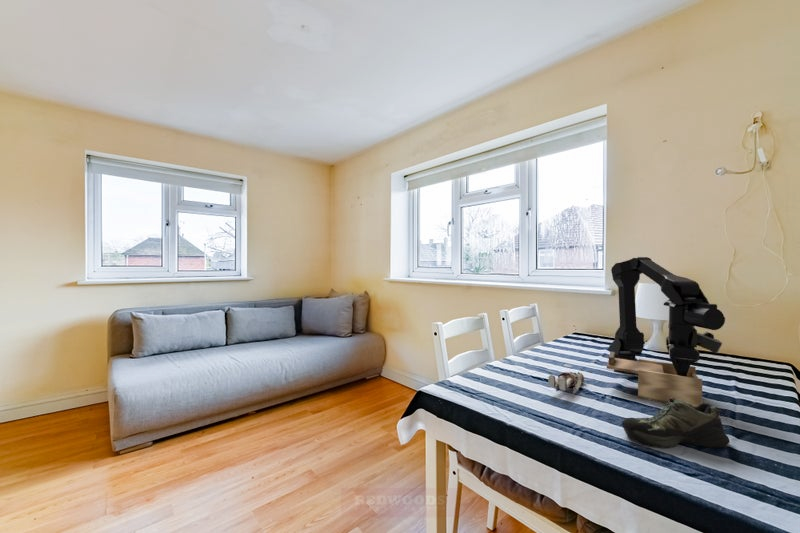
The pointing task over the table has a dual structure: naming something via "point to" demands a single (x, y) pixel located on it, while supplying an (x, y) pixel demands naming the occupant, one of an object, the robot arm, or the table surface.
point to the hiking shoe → (679, 426)
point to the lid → (631, 365)
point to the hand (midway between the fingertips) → (680, 376)
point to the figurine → (566, 381)
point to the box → (669, 384)
